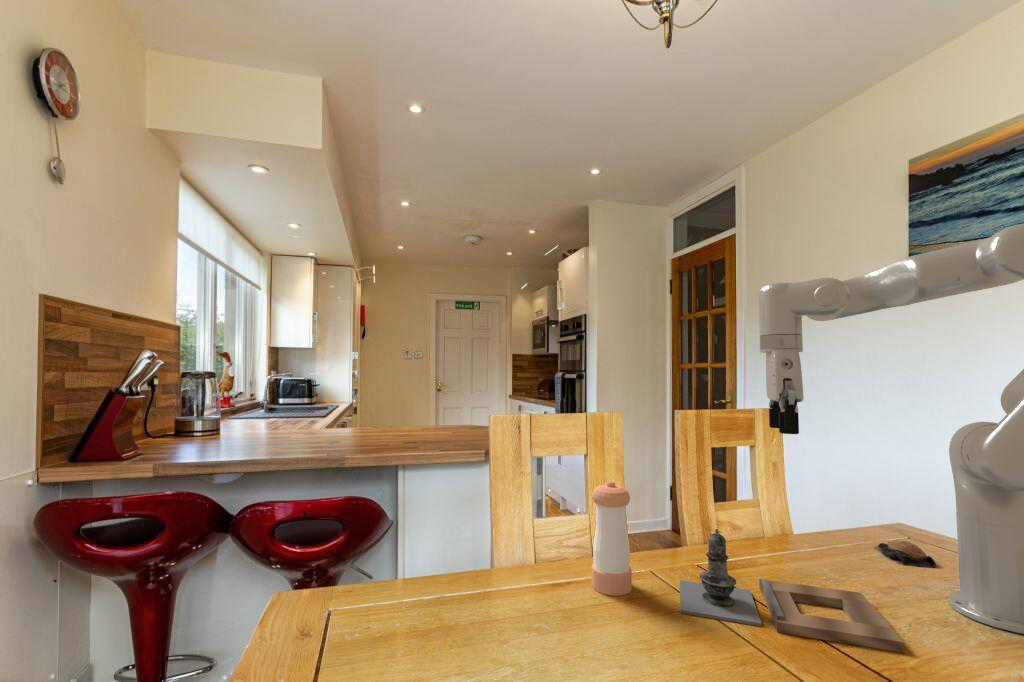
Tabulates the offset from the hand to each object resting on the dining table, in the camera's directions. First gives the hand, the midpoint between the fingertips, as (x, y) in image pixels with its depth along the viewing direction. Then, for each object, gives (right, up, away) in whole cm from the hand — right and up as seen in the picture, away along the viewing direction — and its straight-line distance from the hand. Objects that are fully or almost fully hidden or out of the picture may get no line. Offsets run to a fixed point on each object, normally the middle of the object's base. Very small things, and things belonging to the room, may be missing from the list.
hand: (783, 430), depth 94 cm
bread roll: (+31, -30, +9) cm, 44 cm away
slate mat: (-19, -27, -12) cm, 35 cm away
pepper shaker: (-36, -28, -7) cm, 46 cm away
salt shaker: (-18, -27, -12) cm, 35 cm away
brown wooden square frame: (-3, -27, -17) cm, 32 cm away
